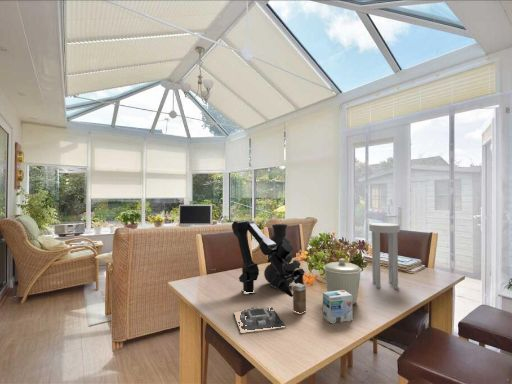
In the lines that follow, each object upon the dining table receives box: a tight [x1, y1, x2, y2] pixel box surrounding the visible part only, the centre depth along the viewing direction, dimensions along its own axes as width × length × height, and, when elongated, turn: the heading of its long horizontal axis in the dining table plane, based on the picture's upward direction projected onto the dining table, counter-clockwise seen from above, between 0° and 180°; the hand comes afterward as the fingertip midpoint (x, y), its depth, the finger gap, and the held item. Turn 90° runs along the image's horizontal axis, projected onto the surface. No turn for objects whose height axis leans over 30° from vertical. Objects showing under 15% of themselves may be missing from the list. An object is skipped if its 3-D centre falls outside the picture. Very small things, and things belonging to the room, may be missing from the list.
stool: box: [368, 222, 401, 290], centre depth 157 cm, size 16×16×35 cm
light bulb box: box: [322, 290, 353, 324], centre depth 115 cm, size 11×7×11 cm, turn 105°
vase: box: [263, 223, 295, 287], centre depth 157 cm, size 18×18×35 cm
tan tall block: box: [292, 283, 307, 313], centre depth 121 cm, size 4×4×12 cm
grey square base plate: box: [238, 306, 286, 330], centre depth 114 cm, size 18×18×4 cm
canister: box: [322, 258, 363, 306], centre depth 133 cm, size 18×18×21 cm
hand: (298, 293), depth 121 cm, fingers open, 9 cm apart
